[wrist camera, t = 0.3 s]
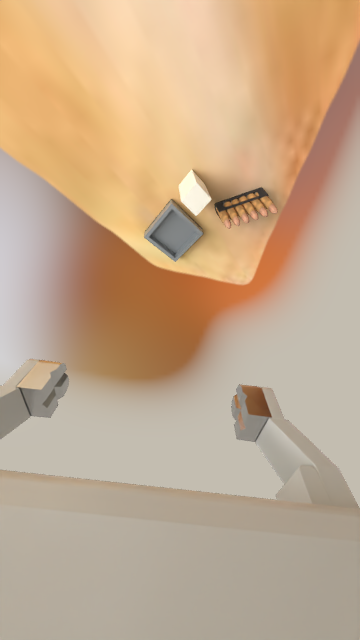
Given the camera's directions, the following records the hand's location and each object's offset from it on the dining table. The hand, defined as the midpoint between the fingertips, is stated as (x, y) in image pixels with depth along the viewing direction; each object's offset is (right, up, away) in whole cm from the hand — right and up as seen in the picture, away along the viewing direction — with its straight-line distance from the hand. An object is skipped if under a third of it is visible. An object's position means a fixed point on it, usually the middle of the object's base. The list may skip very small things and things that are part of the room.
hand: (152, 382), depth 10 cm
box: (0, +25, +44) cm, 50 cm away
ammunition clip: (+15, +31, +39) cm, 52 cm away
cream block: (+4, +32, +37) cm, 49 cm away
